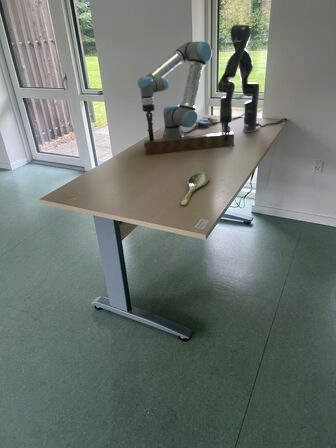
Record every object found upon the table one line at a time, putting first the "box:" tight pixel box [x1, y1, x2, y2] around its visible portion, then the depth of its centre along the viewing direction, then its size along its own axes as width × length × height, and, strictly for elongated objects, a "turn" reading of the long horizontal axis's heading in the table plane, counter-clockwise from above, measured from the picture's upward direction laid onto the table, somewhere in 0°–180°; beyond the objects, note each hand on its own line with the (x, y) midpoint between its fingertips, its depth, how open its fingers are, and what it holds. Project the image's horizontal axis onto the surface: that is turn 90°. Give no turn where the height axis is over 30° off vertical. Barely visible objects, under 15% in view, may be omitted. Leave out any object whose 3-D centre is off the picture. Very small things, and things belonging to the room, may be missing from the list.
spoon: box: [180, 171, 210, 207], centre depth 170 cm, size 35×11×2 cm, turn 159°
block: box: [143, 131, 235, 156], centre depth 222 cm, size 59×5×8 cm, turn 95°
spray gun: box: [195, 115, 218, 128], centre depth 272 cm, size 21×4×15 cm
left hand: (151, 137), depth 218 cm, fingers open, 13 cm apart
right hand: (225, 140), depth 223 cm, fingers closed on block, 5 cm apart
